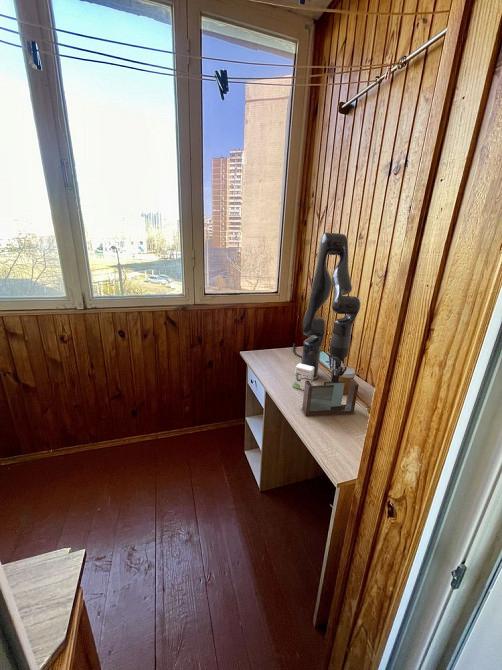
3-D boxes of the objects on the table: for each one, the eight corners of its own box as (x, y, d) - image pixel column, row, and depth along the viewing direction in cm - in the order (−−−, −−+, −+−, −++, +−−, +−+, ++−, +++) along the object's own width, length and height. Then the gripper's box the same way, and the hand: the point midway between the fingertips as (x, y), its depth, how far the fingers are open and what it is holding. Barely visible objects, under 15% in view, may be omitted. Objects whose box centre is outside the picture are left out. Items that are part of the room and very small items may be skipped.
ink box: (293, 387, 149) (295, 366, 145) (296, 383, 153) (298, 362, 149) (309, 392, 145) (311, 370, 141) (312, 387, 149) (314, 366, 145)
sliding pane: (320, 405, 131) (324, 370, 125) (340, 404, 132) (345, 369, 126) (321, 407, 129) (326, 371, 123) (341, 406, 131) (347, 371, 125)
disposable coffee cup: (355, 391, 147) (359, 370, 143) (345, 398, 140) (349, 376, 136) (339, 384, 153) (342, 363, 149) (328, 390, 147) (331, 369, 143)
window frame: (302, 409, 131) (305, 380, 126) (348, 407, 134) (353, 378, 129) (305, 416, 126) (309, 386, 121) (353, 413, 129) (358, 384, 124)
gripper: (356, 350, 115) (349, 389, 121) (341, 337, 127) (336, 373, 133) (338, 350, 114) (332, 389, 120) (325, 338, 126) (320, 374, 132)
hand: (334, 381), depth 126 cm, fingers closed
